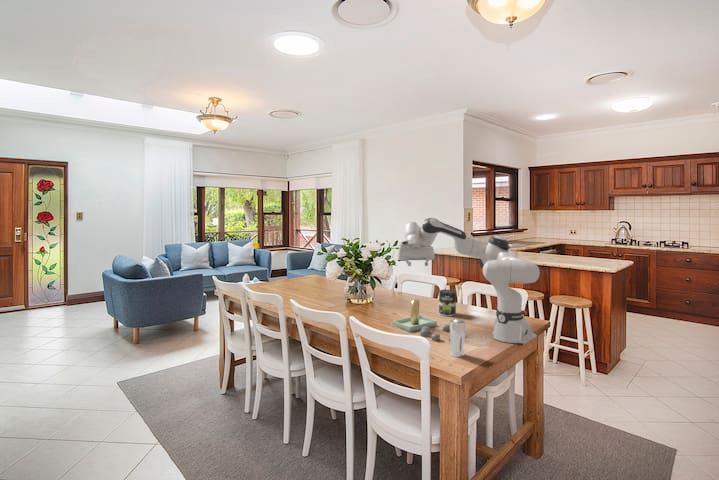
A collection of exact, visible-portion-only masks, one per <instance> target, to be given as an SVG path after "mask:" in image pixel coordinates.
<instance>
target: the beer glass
mask: <svg viewBox="0 0 719 480" xmlns="http://www.w3.org/2000/svg"><path fill="white" fill-rule="evenodd" d="M449 325H450V327H449V332H448V334H449V335H450V341H451V342H450V341H449V342H450V352H449V355H450V356H451V357H455V358H462V357H464V356H465V350H464V345H465V339H466V332H467V329H466V321H465V320H463V319H461V318H460V319H457V318H453V319H450V320H449Z"/></svg>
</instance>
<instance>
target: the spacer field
mask: <svg viewBox="0 0 719 480" xmlns="http://www.w3.org/2000/svg"><path fill="white" fill-rule="evenodd" d="M449 327H450V324H442V332H446V333H447V332H448V333H449ZM419 332H420V337H426V338H427V337H429V334H431V327H427V326H424V327H422V329H421V330H419ZM440 334H441V333H440ZM440 334H439V333H437V332H436V333H432V334H431V341H432V342H433V341H434V342H440V341H441V335H440ZM448 337H449V342H450V343H451V341H450V334H449V335H448Z"/></svg>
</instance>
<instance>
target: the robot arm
mask: <svg viewBox="0 0 719 480" xmlns="http://www.w3.org/2000/svg"><path fill="white" fill-rule="evenodd" d="M440 233H441V234H443V235H446V236H449V237H451V238H452V239H453V240H454V243H453V244H454V249H455V250H456V252H457V253H458V254H460V255H462V256H468V257H472V258H478V259H479V260H478V261H477V263H478V264H479V266H480V268H481V270H482V274H483V276H484V278H485V280H486V281H488V282H489V283H490V284H491V285H492V286H493V288H494V291H495V293H496V296H497V297H496V298H497V299H496V301H497V308H496V312H495V313H496V315H495V316H496V317H495V319H494V323H493V330H492V331H491V335H492V337H493V338H494V339H495V340H496V341H499V342H503V343H508V344H509V343H510V344H525V345H526V344H528V343H529V342H531V341H533V340H535V339H536V338H538V336H537V334H536V333H534V332H532V324H531V323H530V322H528V321H527V320H526V319H525V318H524V316H527V314H528V313H527V311H526V310H523V309H522V307H523V306H522V304H523V298H522V295H521V293H520V292H519V291H517V290H516V289H513V288H512V287H511V286H509V284H533V283H536V282H537V281H538V279H539V277H540V268H539V266H538V264H537V263H535V262H533V261H527V260H524V259H521V258H519V256H518V255H516V254H515V253H513V252H510V251H509V250H510V249H511V247H510V246H509V243H508V240H507V239H506V238H504V237H503V236H499V235H493V236H491V237H490V238H489V239H488V243H487V242H485V241H483V240H481V239H478V238H475V237H471V236H469V235H467V234H466V232H465V231H464V230H461V229H460V228H457V227H455V226H451V225H449V224H446V223H444V222H442V221H440V220H438V219H437V218H434V217H429V218H426V219H424V221H423V223H422V225H421V226H420V225H418V223H417V222H415V221H411V222H408V223H407V224H406V225H405V226H404V237H405V240H403V241H401V242H399V247H398V252H397V258H398V260H399V261H405V263H406V264H407V266H408V267H412V262H411V261H424V267H428V266H429V261H433V260H435V257H436V253H435V250H434V247H433V246H432V245H433V244H434V241H435V240H436V237H437V235H438V234H440Z"/></svg>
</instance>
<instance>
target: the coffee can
mask: <svg viewBox="0 0 719 480" xmlns="http://www.w3.org/2000/svg"><path fill="white" fill-rule="evenodd" d="M438 296H439V297H438V315H440V314H441V315H440V316H443V315H444V316H443V317H454V316H453V315H455V316H456V315H457V312H456V311H457V310H456V309H457V308H456V307H457V291H456V290H453V289H439V290H438Z"/></svg>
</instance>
